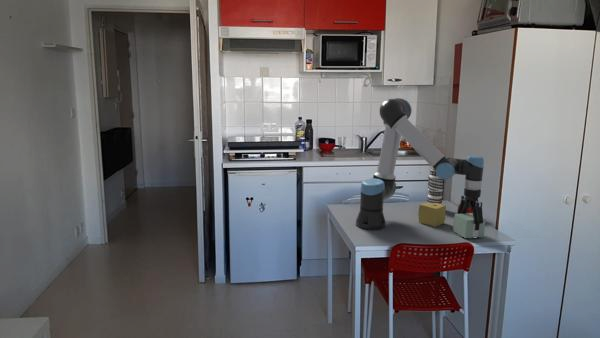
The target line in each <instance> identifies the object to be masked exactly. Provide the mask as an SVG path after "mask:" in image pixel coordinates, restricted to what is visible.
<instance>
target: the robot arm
mask: <svg viewBox="0 0 600 338" xmlns="http://www.w3.org/2000/svg"><path fill="white" fill-rule="evenodd" d="M412 111H413V109H412V106H411V104H410V102H409V101H408V100H406V99H404V98H398V97H397V98H396V97H395V98H389V99H386V100H384V101H383V102H382V103H381V104H380V106H379V116H380V118H381V120H382V122H383V125H384V127H385V128H384V133H383V139H382V144H381V151H380V154H379V160H378V165H377V171H375V172H373V176H372V178H367V179H364V180H363V181H361V184H360V199H359V200H360V201H359V202H360V203H359V204H360V205H359V212H358V213H357V216H356V219H355V225H356V226H357V227H359V228H360V229H363V230H372V231H373V230H374V231H376V230H377V231H378V230H383V229H385V228H386V226H387V225H386V219H385V214H384V201H386V200H388V199H390V198H392V197H393V196H394V194H395V193H396V190H397V183H396V175H395V174H394V173H395V169H396V168H395V167H396V163H397V162H396V161H397V160H398V159H397V158H398V152H399V148H400V142H401V138H403V139H404V141H406V142H407V143H408V144H409V145H410V146H411V148H413V149H414V151H416V153H417V154H418V155H420V156H421V157H422V158H423V160H425V162H426V163H428V164H429V166H430V167H431V168H432V167H433V168H434V169H435V171H436V174H437V176H438V177H439V178H440V179H445V180H449V179H451V178H453V177H454V176H455V175H462V176H465V178H464V189H463V195H461V197H460V203H459V204H458V206H459V209H458V208H457V210H458V212H457V214H458V213H459V214H466V213H467V211H468V209H469V207H470V208H471V210H472V213H473V218H474V223H473V231H472V236H473V237H475V236H478V231H479V225H480V224H481V223H483V218H484V217H483V202H481V201H479V198H480V197H481V194H482V193H481V192H482V183H483V182H482V181H483V173H484V161H485V159H484V157H482V156H480V155H467V157H466V159H465V158H464V159H463V158H454V157H446V156H445V155H444V154H443V153H442V152H441V151H440V150H439V149H438V148H437V147H436V145H434V144H433V142H431V141H430V140H429V139H428V138H427V137H426V136H425V135H424V134H423V133H422V132H421V131H420V130H419V129H418V128H417V127H416V126H415V125H414V124H413V123H412V122H411V121H410V120H409V118H410V117H411V115H412ZM475 207H476V208H475Z"/></svg>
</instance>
